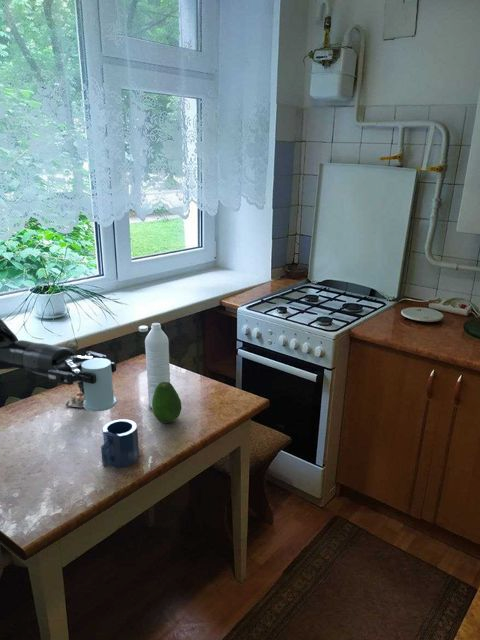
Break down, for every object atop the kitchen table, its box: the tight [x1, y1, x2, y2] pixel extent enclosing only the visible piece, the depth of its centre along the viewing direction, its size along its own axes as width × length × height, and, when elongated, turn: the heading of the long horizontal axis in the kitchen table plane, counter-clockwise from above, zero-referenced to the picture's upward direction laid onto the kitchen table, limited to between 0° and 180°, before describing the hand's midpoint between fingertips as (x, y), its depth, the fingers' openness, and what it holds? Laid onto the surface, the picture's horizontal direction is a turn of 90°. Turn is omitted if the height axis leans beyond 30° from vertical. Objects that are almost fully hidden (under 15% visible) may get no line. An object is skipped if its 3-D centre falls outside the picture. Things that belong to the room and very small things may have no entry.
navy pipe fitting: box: [100, 418, 140, 469], centre depth 117 cm, size 11×8×8 cm
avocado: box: [151, 382, 182, 424], centre depth 134 cm, size 8×8×12 cm
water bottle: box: [138, 322, 171, 408], centre depth 140 cm, size 9×6×25 cm
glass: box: [81, 358, 117, 412], centre depth 115 cm, size 7×7×10 cm
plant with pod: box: [64, 340, 85, 409], centre depth 141 cm, size 8×11×20 cm
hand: (105, 373), depth 113 cm, fingers closed on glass, 6 cm apart
